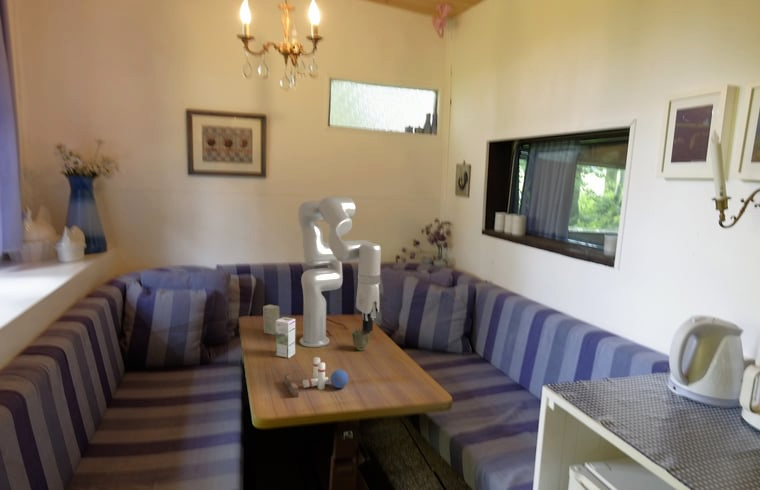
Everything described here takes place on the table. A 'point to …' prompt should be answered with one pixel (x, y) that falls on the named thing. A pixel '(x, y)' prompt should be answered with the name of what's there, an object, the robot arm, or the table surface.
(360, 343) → the cup
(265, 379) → the table surface
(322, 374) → the pin
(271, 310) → the skincare box
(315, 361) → the pin
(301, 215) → the robot arm
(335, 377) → the ball
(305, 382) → the front pin
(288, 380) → the back wall
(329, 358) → the table surface
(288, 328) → the syrup box
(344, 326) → the glasses
